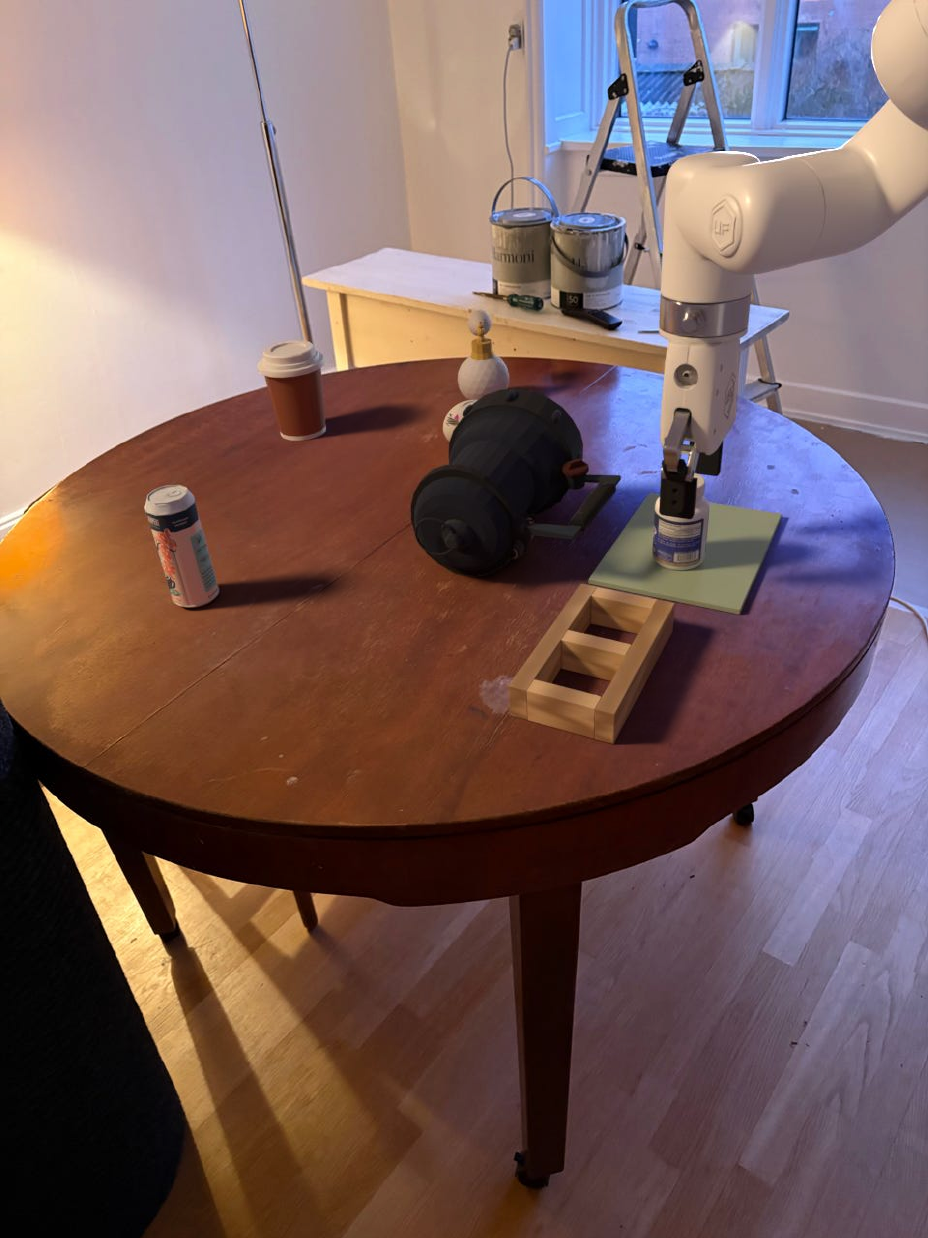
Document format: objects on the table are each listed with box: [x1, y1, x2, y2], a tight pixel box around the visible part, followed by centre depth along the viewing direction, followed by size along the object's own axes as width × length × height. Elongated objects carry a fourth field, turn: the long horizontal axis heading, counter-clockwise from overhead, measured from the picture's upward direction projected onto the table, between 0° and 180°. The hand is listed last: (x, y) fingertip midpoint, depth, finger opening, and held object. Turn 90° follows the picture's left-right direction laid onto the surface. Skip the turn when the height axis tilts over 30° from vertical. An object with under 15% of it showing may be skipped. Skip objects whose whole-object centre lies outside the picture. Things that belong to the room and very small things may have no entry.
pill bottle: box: [652, 473, 710, 570], centre depth 88 cm, size 5×5×9 cm
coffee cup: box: [256, 339, 327, 442], centre depth 123 cm, size 9×9×12 cm
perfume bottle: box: [457, 309, 510, 401], centre depth 129 cm, size 8×10×12 cm
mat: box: [588, 492, 783, 616], centre depth 93 cm, size 15×20×1 cm
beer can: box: [143, 484, 220, 609], centre depth 88 cm, size 5×5×12 cm
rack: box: [508, 583, 676, 745], centre depth 77 cm, size 9×16×3 cm, turn 153°
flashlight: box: [410, 387, 622, 577], centre depth 92 cm, size 15×21×20 cm
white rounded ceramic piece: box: [442, 399, 477, 442], centre depth 116 cm, size 8×6×7 cm
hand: (690, 493), depth 86 cm, fingers open, 9 cm apart
